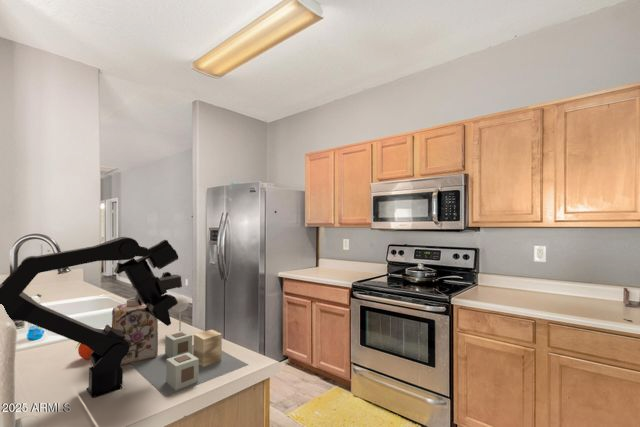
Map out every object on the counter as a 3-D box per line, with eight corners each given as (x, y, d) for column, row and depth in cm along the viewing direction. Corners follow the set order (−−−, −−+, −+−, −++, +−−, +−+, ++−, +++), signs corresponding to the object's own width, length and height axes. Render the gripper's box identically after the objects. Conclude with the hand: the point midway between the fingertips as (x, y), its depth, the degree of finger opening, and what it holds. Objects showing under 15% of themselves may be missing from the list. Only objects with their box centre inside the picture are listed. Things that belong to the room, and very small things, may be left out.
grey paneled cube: (176, 390, 81) (176, 365, 81) (165, 381, 85) (166, 358, 85) (198, 381, 86) (199, 358, 86) (187, 373, 90) (188, 351, 90)
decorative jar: (152, 346, 110) (152, 293, 110) (158, 356, 100) (158, 298, 101) (110, 355, 103) (111, 298, 103) (113, 367, 93) (114, 304, 94)
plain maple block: (203, 366, 94) (203, 339, 94) (193, 360, 98) (193, 334, 98) (221, 360, 98) (221, 334, 99) (211, 354, 103) (211, 329, 103)
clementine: (80, 367, 94) (81, 342, 94) (69, 361, 98) (69, 338, 98) (109, 357, 101) (110, 334, 101) (97, 352, 105) (98, 330, 105)
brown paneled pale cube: (173, 360, 98) (173, 339, 98) (165, 354, 103) (165, 334, 103) (192, 354, 103) (192, 334, 103) (183, 348, 107) (183, 330, 107)
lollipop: (167, 336, 119) (168, 296, 119) (180, 331, 124) (181, 292, 124) (178, 339, 116) (179, 298, 116) (191, 334, 121) (192, 294, 122)
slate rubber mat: (166, 399, 78) (166, 397, 78) (129, 365, 95) (129, 363, 95) (248, 366, 96) (248, 364, 96) (205, 343, 113) (205, 341, 113)
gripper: (182, 266, 86) (207, 313, 90) (160, 260, 100) (183, 302, 104) (140, 290, 79) (169, 340, 83) (123, 280, 93) (149, 324, 97)
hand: (169, 324), depth 92 cm, fingers closed
